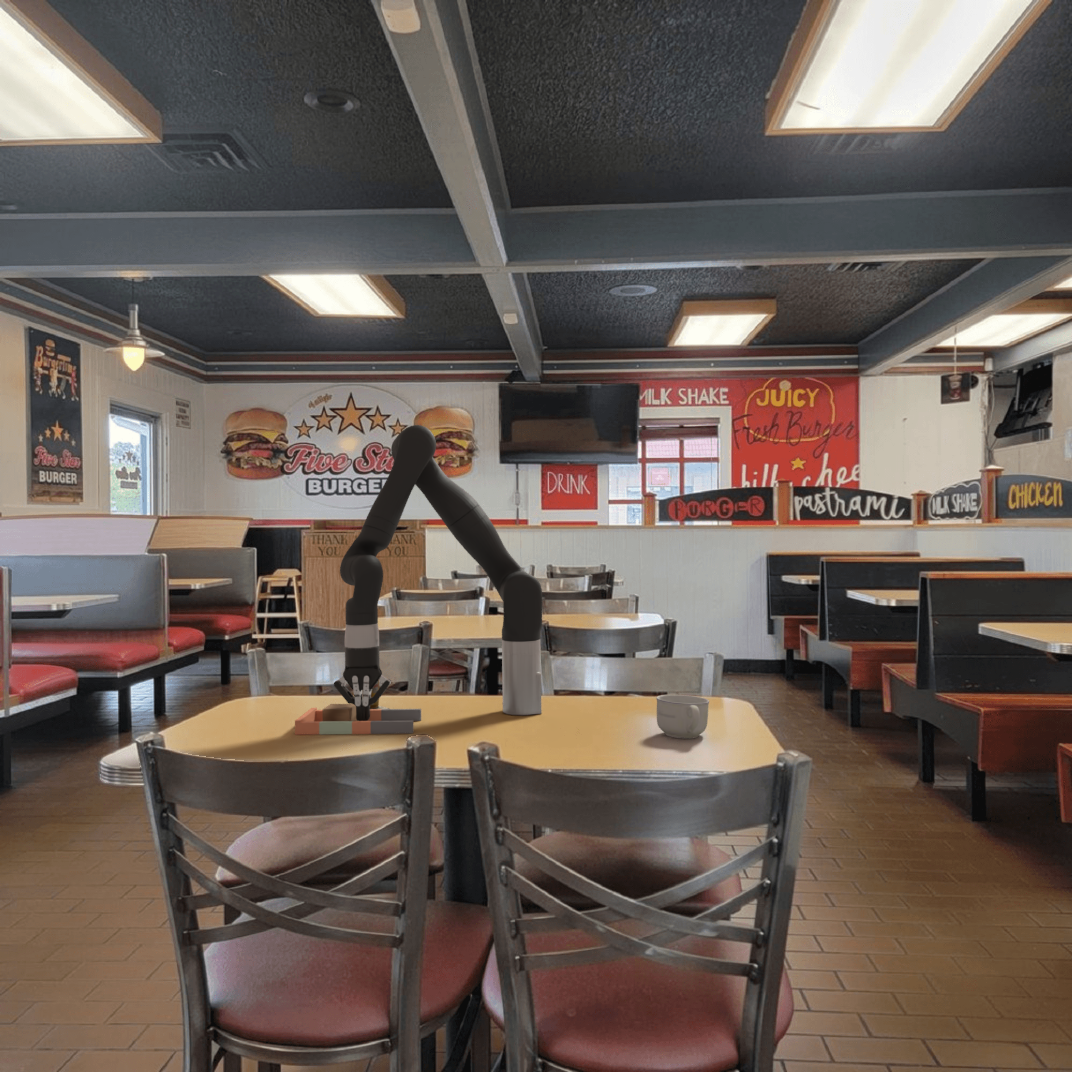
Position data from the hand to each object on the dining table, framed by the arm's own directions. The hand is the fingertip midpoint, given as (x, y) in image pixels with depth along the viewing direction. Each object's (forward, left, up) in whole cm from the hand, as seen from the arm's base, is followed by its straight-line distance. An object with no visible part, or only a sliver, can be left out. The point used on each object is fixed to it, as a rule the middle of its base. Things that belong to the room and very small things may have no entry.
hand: (363, 722), depth 189 cm
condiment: (+3, -20, -1) cm, 20 cm away
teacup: (-69, +13, -1) cm, 70 cm away
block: (+5, -1, -1) cm, 6 cm away
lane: (0, 0, -1) cm, 1 cm away
